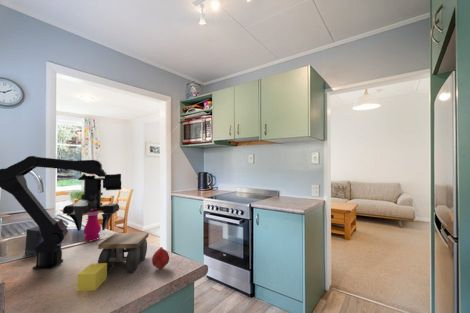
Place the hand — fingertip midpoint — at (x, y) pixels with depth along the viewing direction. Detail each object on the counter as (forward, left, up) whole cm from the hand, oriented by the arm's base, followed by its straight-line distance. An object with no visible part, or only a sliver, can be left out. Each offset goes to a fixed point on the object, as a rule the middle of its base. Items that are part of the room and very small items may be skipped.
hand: (91, 230), depth 86 cm
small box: (-24, +9, -11) cm, 28 cm away
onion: (+30, -11, -11) cm, 34 cm away
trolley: (+16, -7, -11) cm, 21 cm away
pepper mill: (-12, +23, -11) cm, 28 cm away
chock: (+11, -19, -11) cm, 25 cm away
